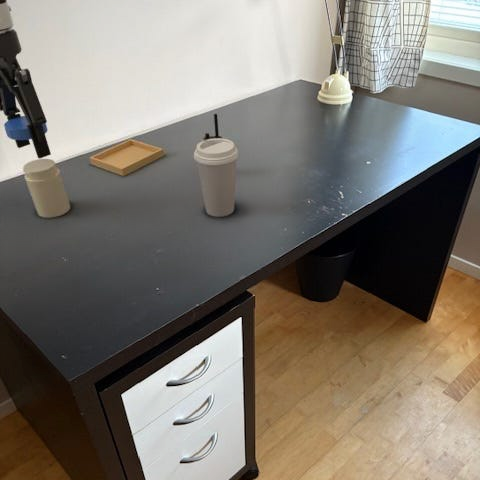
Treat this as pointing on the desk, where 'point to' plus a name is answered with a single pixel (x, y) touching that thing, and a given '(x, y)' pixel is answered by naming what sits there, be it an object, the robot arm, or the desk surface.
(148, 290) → the desk surface
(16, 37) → the robot arm
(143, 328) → the desk surface
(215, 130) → the walkie-talkie
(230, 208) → the coffee cup
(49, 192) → the jar
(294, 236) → the desk surface
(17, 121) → the lid
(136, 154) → the tray
